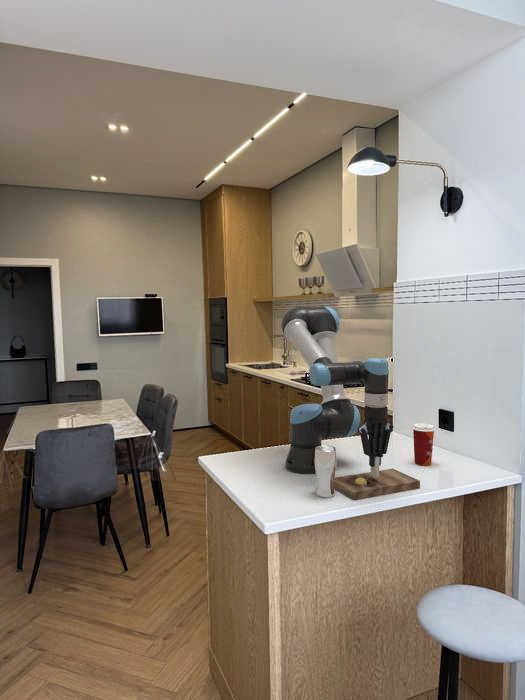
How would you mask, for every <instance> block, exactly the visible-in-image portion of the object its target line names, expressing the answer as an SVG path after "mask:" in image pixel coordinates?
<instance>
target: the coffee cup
mask: <svg viewBox="0 0 525 700" xmlns="http://www.w3.org/2000/svg"><path fill="white" fill-rule="evenodd" d="M412 430H413V455H414V464H415V465H417V466H419V467H430V466H431V465H432V461H433V460H432V458H433V446H434V434H435V431H436V428H435V426H434V425H433V424H430V423H423V422H420V423H419V422H418V423H414V424H413V426H412Z"/></svg>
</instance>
